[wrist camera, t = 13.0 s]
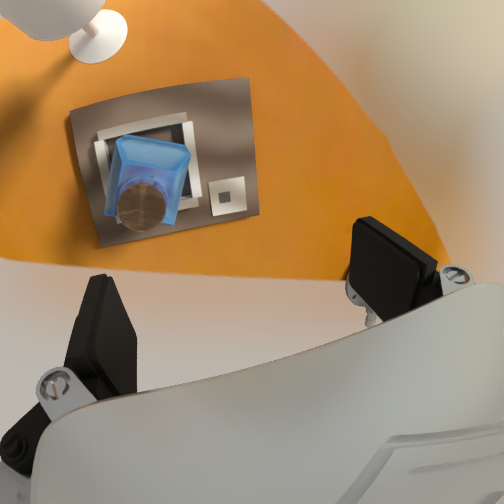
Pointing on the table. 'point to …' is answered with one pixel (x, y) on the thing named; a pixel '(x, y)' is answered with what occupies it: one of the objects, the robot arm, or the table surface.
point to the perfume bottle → (146, 182)
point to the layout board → (182, 132)
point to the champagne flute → (70, 25)
